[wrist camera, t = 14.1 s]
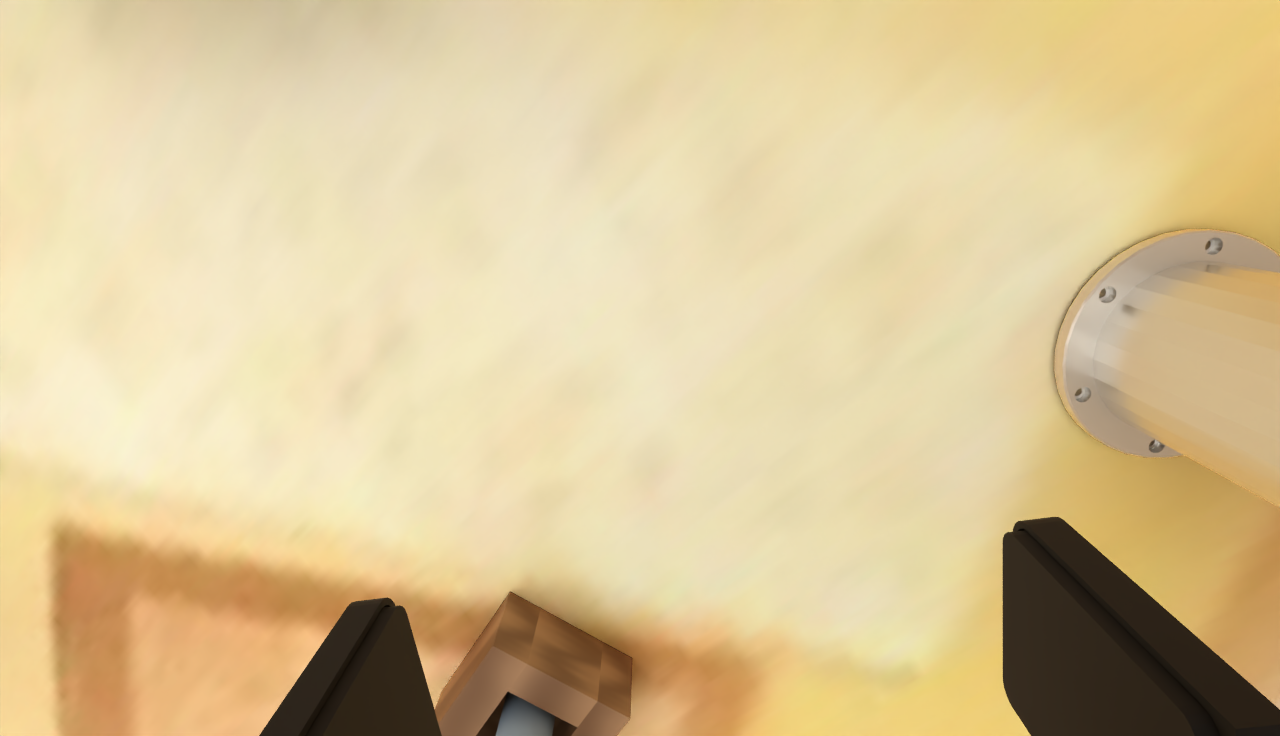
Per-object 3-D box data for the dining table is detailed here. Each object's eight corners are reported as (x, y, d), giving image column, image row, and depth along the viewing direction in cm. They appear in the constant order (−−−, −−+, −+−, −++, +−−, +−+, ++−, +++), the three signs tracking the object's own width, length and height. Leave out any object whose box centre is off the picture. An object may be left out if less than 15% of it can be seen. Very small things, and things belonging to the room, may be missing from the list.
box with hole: (632, 658, 44) (630, 718, 40) (560, 751, 47) (550, 819, 42) (510, 591, 43) (492, 645, 38) (441, 691, 45) (417, 754, 40)
